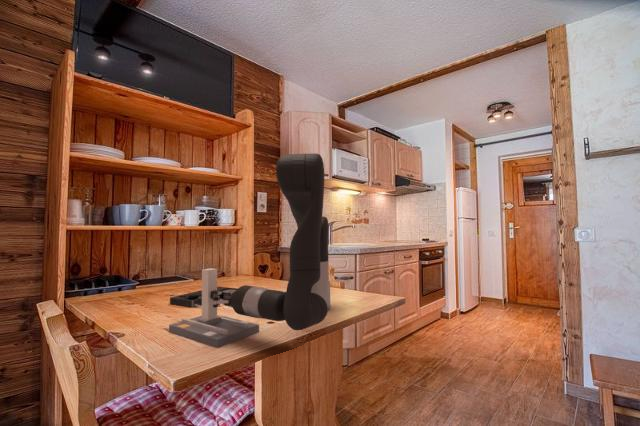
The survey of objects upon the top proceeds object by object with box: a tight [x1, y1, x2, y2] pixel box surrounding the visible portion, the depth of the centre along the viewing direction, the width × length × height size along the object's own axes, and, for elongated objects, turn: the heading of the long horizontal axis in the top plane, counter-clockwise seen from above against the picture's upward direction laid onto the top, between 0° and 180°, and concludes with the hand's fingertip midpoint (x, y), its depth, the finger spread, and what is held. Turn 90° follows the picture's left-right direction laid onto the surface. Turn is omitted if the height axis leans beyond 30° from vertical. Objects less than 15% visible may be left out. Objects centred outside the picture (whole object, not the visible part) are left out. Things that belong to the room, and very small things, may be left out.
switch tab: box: [198, 267, 221, 325], centre depth 89 cm, size 5×4×16 cm
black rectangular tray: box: [169, 286, 238, 309], centre depth 128 cm, size 25×4×20 cm
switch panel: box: [168, 314, 260, 349], centre depth 88 cm, size 14×22×3 cm, turn 55°
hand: (212, 294), depth 89 cm, fingers closed
